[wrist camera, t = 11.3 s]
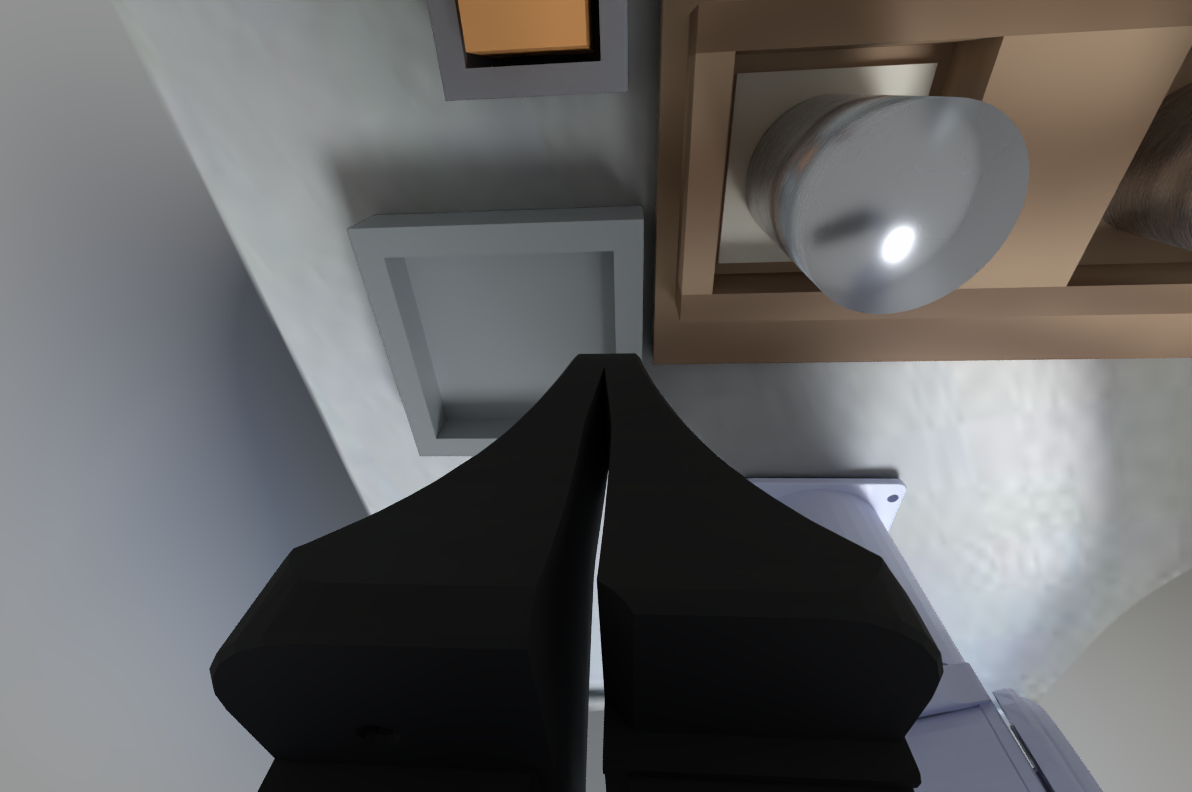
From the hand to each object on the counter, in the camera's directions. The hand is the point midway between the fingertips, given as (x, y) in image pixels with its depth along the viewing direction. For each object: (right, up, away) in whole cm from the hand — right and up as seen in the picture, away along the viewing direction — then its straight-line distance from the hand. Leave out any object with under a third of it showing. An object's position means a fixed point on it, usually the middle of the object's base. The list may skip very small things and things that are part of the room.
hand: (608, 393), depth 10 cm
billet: (+7, +7, +5) cm, 11 cm away
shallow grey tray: (-3, +3, +10) cm, 11 cm away
